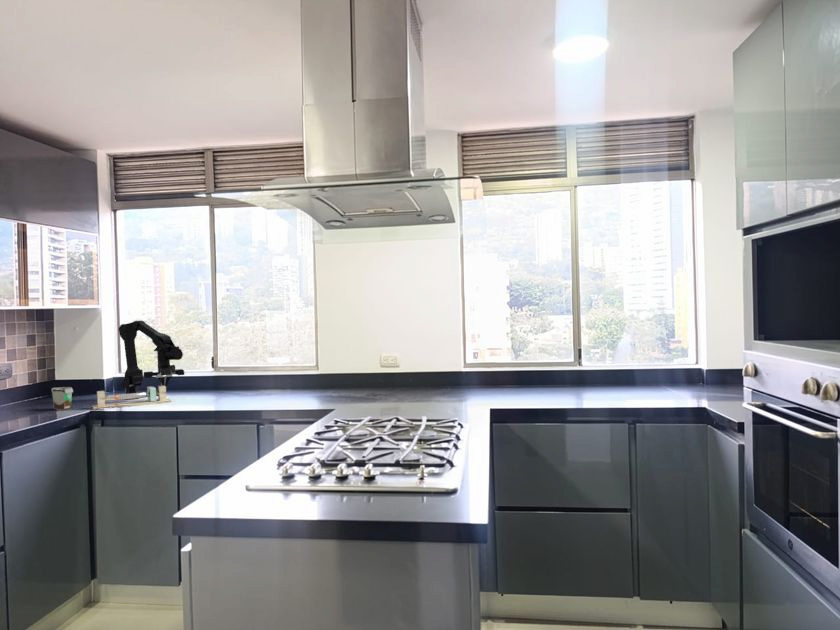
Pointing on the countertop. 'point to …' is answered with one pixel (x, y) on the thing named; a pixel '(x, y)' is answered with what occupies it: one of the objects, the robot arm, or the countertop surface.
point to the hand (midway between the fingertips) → (164, 390)
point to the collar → (152, 393)
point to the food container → (62, 398)
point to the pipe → (128, 396)
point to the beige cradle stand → (102, 404)
